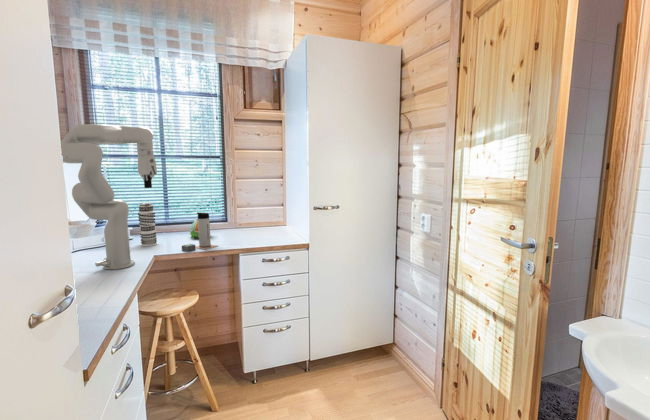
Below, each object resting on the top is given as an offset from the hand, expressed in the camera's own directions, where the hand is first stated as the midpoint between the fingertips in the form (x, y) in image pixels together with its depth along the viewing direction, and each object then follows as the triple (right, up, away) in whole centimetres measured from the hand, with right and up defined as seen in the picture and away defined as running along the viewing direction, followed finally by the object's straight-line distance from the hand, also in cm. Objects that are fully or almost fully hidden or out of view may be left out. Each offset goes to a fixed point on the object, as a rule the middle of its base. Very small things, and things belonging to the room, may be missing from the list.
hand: (148, 187), depth 181 cm
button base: (+20, -35, +5) cm, 40 cm away
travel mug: (+26, -33, +13) cm, 44 cm away
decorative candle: (-10, -33, +20) cm, 40 cm away
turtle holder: (+13, -30, +40) cm, 52 cm away
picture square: (+27, -34, +13) cm, 45 cm away
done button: (+20, -33, +5) cm, 39 cm away
